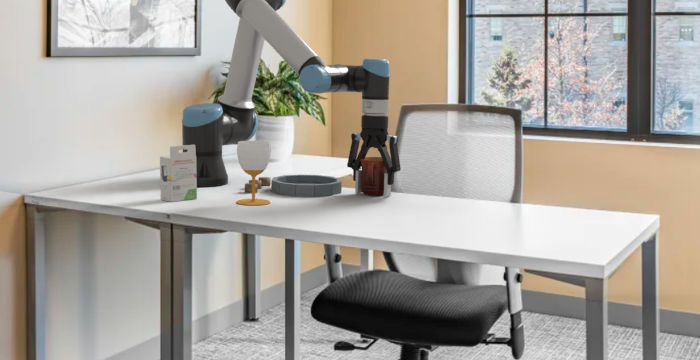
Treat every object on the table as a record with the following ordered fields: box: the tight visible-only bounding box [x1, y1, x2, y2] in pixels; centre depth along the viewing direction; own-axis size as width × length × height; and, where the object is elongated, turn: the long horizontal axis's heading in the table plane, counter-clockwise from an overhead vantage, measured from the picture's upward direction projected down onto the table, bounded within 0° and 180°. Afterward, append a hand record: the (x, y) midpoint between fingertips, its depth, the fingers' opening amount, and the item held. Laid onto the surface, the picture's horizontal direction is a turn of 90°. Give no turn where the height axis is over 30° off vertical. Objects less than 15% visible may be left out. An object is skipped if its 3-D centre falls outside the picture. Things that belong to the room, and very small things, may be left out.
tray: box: [270, 174, 343, 198], centre depth 255 cm, size 20×20×3 cm
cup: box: [235, 140, 272, 207], centre depth 233 cm, size 9×9×16 cm
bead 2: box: [248, 179, 262, 190], centre depth 257 cm, size 4×4×2 cm
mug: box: [360, 156, 387, 197], centre depth 249 cm, size 12×9×10 cm
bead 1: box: [244, 182, 259, 194], centre depth 250 cm, size 4×4×2 cm
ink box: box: [159, 144, 198, 203], centre depth 235 cm, size 9×5×15 cm, turn 134°
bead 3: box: [257, 176, 272, 187], centre depth 263 cm, size 4×4×2 cm
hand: (372, 194), depth 250 cm, fingers open, 8 cm apart
